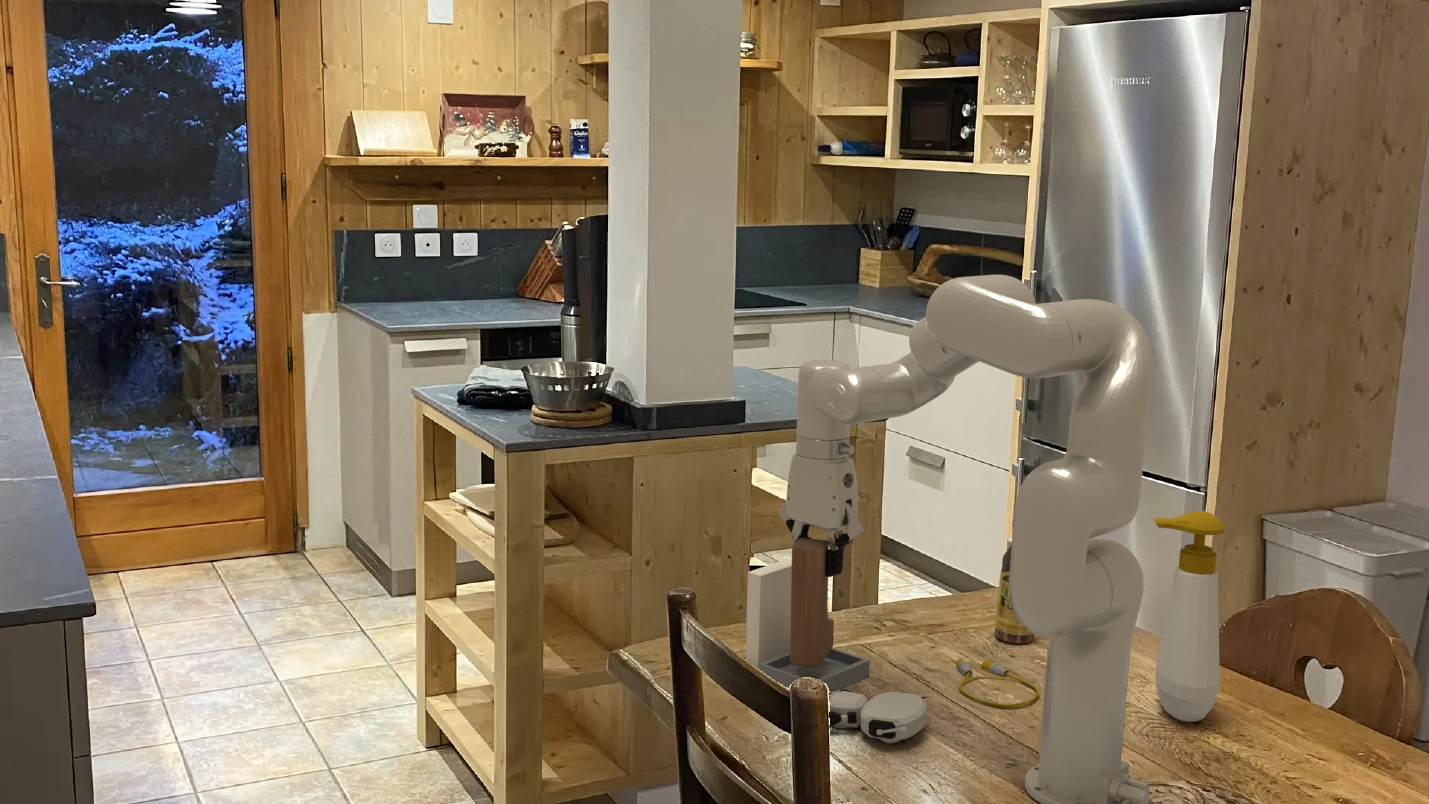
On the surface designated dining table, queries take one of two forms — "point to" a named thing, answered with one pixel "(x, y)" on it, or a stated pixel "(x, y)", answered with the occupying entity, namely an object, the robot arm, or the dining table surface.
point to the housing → (788, 634)
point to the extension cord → (994, 669)
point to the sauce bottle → (1008, 609)
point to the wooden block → (810, 604)
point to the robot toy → (879, 713)
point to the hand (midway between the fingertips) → (818, 569)
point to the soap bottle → (1191, 624)
